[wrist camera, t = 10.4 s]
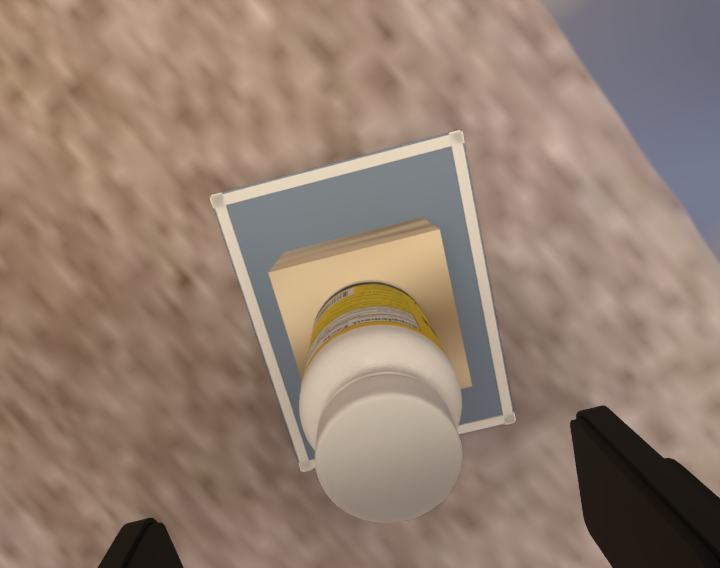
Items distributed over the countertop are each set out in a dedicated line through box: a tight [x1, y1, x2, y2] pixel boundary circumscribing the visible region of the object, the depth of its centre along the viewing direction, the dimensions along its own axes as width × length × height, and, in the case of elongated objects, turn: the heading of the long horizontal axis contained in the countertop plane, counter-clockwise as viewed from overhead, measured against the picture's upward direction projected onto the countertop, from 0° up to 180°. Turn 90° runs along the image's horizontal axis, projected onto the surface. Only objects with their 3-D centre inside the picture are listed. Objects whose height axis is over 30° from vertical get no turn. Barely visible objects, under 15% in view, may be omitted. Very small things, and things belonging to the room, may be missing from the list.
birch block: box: [268, 217, 472, 389], centre depth 24 cm, size 8×8×5 cm
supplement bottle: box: [299, 280, 463, 523], centre depth 17 cm, size 5×5×10 cm
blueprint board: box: [210, 129, 516, 472], centre depth 27 cm, size 18×14×1 cm
